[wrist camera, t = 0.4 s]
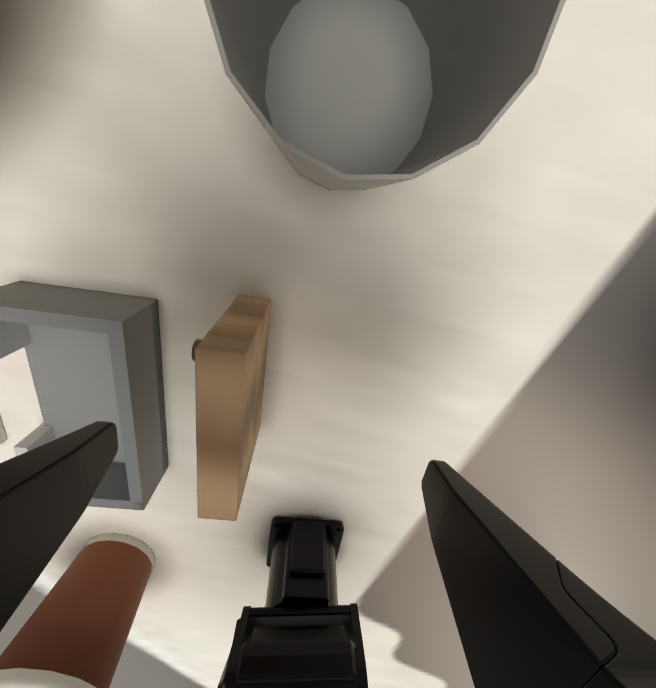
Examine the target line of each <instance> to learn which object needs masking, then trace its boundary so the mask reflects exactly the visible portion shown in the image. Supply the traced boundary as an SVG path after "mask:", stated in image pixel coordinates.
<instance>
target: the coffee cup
mask: <svg viewBox="0 0 656 688" xmlns="http://www.w3.org/2000/svg"><path fill="white" fill-rule="evenodd" d="M154 562H155V556H154V554H153V552H152V550H151V548H150V547H148V546H147V545H146V544H145V543H143V542H142V541H140V540H138V539H135V538H133V537H131V536H128V535H121V534H115V533H112V534H102V535H98V536H96V537H94V538H92V539H90V540H89V541H88V542H87V543H86V545H85V546H84V547H83V549H82V550H81V552H80V553H79V555H78V556H77V557H76V559H75V560H74V561H73V562H72V564H71V565H70V566H69V568H68V569H67V570H66V571H65V573H64V574H63V575H62V577H61V578H60V579H59V581H58V582H57V583H56V584H55V586H54V587H53V588H52V590H51V591H50V592H49V594H48V595H47V596H46V597H45V599H44V600H43V601H42V603H41V604H40V605H39V606H38V608H37V609H36V610H35V612H34V613H33V614H32V616H31V617H30V618H29V619H28V621H27V622H26V623H25V625H24V626H23V627H22V629H21V630H20V631H19V632H18V634H17V635H16V636H15V638H14V639H13V640H12V642H11V643H10V644H9V645H8V647H7V648H6V649H5V651H4V652H3V653H2V654H1V656H0V688H109V686H110V684H111V681H112V678H113V675H114V673H115V670H116V667H117V665H118V662H119V659H120V656H121V653H122V651H123V648H124V645H125V642H126V640H127V637H128V634H129V631H130V629H131V626H132V623H133V620H134V618H135V615H136V612H137V609H138V607H139V604H140V601H141V598H142V596H143V593H144V590H145V587H146V585H147V582H148V579H149V576H150V574H151V571H152V569H153V567H154Z"/></svg>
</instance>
